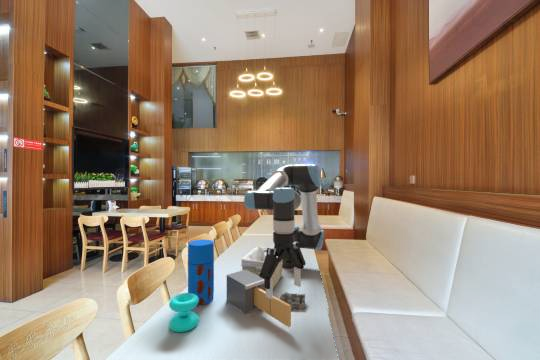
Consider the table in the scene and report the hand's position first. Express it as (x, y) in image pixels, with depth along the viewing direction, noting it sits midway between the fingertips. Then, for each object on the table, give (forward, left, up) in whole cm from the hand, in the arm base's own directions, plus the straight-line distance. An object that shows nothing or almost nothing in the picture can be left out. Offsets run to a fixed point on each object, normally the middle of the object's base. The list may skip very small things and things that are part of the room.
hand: (284, 291), depth 89 cm
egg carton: (-14, -10, -13) cm, 22 cm away
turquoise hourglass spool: (+26, -24, -13) cm, 38 cm away
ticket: (0, -8, -11) cm, 13 cm away
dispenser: (0, -23, -13) cm, 27 cm away
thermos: (+13, -38, -13) cm, 43 cm away
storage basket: (-20, -36, -13) cm, 43 cm away
